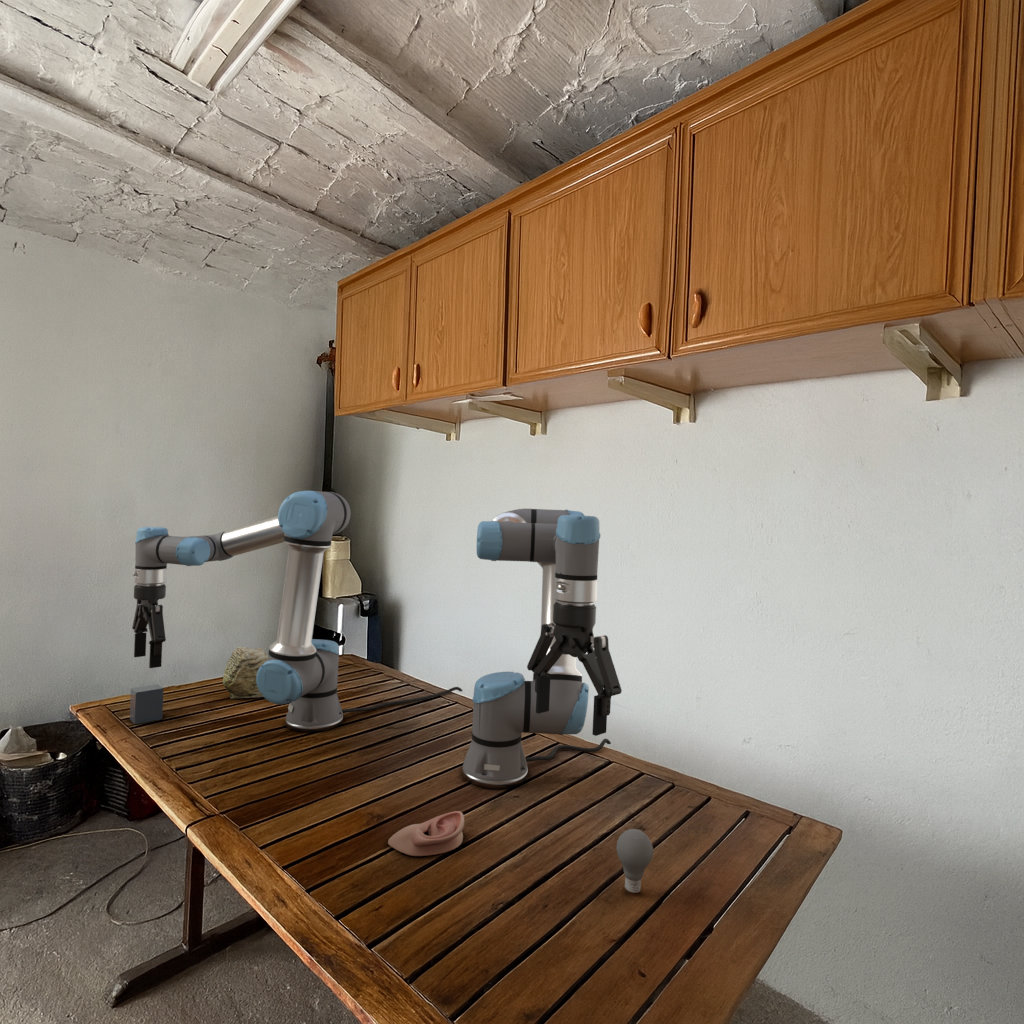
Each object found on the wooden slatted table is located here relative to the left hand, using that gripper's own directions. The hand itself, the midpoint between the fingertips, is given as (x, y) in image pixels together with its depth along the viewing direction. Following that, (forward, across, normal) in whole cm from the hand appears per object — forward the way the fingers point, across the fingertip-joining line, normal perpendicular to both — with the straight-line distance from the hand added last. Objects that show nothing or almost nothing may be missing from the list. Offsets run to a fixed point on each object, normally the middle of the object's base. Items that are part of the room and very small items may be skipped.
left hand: (147, 661), depth 172 cm
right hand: (-10, +120, +33) cm, 125 cm away
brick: (+16, -1, 0) cm, 16 cm away
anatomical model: (+16, +98, +20) cm, 101 cm away
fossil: (+16, -4, +32) cm, 36 cm away
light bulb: (+15, +133, +36) cm, 139 cm away
